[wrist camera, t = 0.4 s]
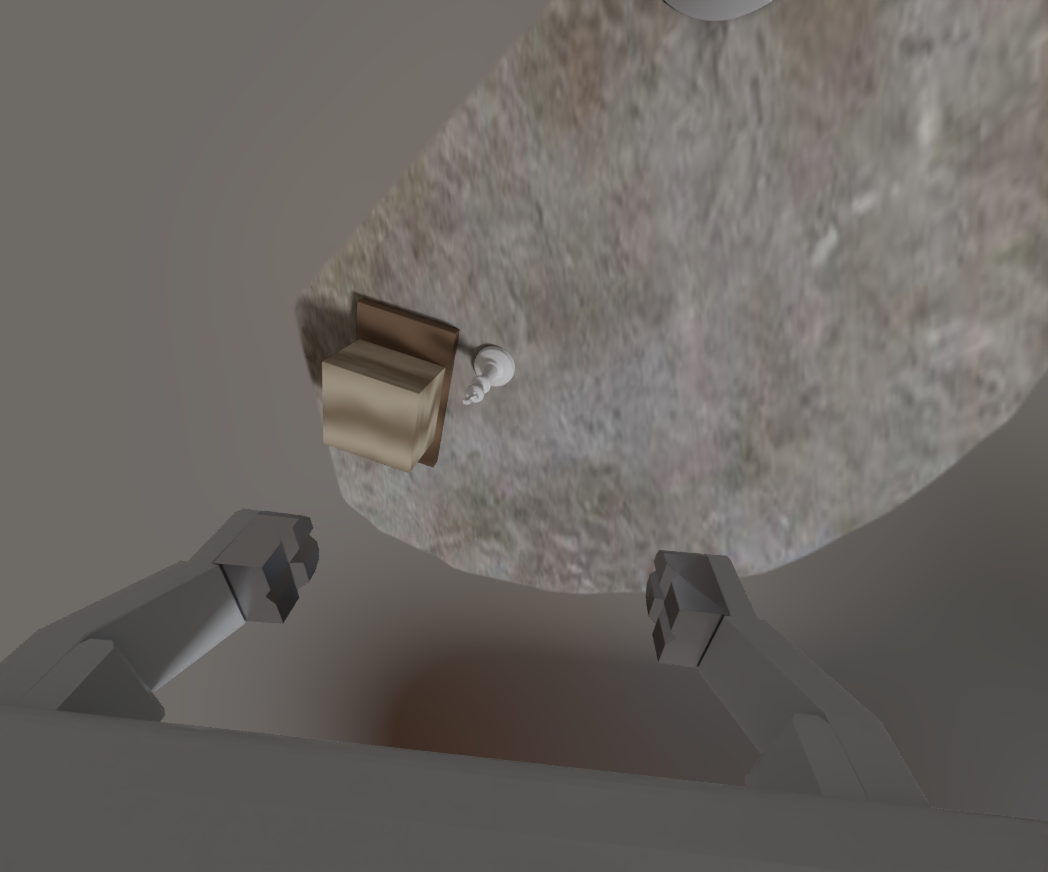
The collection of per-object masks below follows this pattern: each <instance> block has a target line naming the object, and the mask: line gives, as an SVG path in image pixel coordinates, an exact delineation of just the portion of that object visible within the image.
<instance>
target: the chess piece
mask: <svg viewBox="0 0 1048 872" xmlns="http://www.w3.org/2000/svg"><path fill="white" fill-rule="evenodd" d="M474 369H475V372H476V374H477V376H475V377H474V378H473V380H472V385H469V386H468V387H467V388H466V390H465V395H466V397H467V398H464V399H463V400H462V401H463V403H464V404H467V405H469V404H471V403H472V402H474V403H477V402H480V401H481V400H482V399H483V397H484V393H487V392H488V391H489V390H490V386H501V385H504V384H506V383H507V382H508V381H509V380H510V379H511V378H512V377H513V374H514V371H515V365H514V361H513V359H512V357H511V356H510V354H509V353H508V352H507V351H505V350H504V349H502V348H500V347H496V346H489V347H485V348H483V349H482V350H481V351H480V352H479V353H478V354H477V356H476V358H475V362H474Z"/></svg>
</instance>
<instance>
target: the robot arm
mask: <svg viewBox="0 0 1048 872" xmlns="http://www.w3.org/2000/svg"><path fill="white" fill-rule="evenodd" d="M664 1H666V2H667V3H668V4H669V5H670V6H671V7H673V8H674V9H675V10H677V11H679V12H681V13H682V14H685V15H687V16H689V17H692V18H696V19H700V20H707V21H720V20H728V19H733V18H737V17H740V16H743V15H746V14H749V13H751V12H753V11H755V10H757V9H759V8H761V7H763V6H765V5H766V4H768V3H770V2H771V1H773V0H664ZM312 529H313V525H312V522H311V520H310V518H309V517H307V516H302V515H293V514H286V513H278V512H270V511H257V510H250V509H242V510H239V511H237V512H235V513H234V514H233V515H232V516H231V518H229V519H228V520H227V521H226V523H225V524H224V525H223V526H222V527H221V528H220V529H219V530H218V531H217V532H216V533H215V534H214V535H213V536H212V537H211V538H210V539H209V540H208V541H207V542H206V543H205V544H204V545H203V546H202V547H201V548H200V549H199V551H198V552H196V554H195V555H193V557H192V558H191V559H190V560H189V561H188V562H187V561H180V562H178V563H175V564H174V565H171V566H169V567H167V568H165V569H163V570H161V571H159V572H157V573H155V574H153V575H151V576H149V577H147V578H145V579H142V580H140V581H138V582H136V583H134V584H132V585H130V586H128V587H126V588H124V589H122V590H120V591H118V592H116V593H114V594H112V595H110V596H108V597H105V598H103V599H101V600H100V601H97V602H95V603H93V604H91V605H89V606H87V607H85V608H83V609H81V610H78V611H77V612H74V613H72V614H70V615H68V616H66V617H64V618H62V619H60V620H58V621H56V622H54V623H52V624H50V625H47V626H45V627H43V628H42V629H39V630H37V631H36V632H35V633H34V634H33V635H32V636H31V637H29V638H28V639H27V640H26V641H25V642H24V643H23V644H21V645H20V646H19V647H18V648H17V649H16V650H15V651H13V652H12V653H11V654H10V655H9V656H8V657H6V659H4V660H3V661H2V662H1V663H0V872H1048V821H1046V820H1037V819H1029V818H1020V817H1011V816H1002V815H993V814H984V813H975V812H966V811H957V810H948V809H938V808H931V806H930V804H929V803H928V801H927V800H926V798H925V796H924V794H923V792H922V791H921V789H920V787H919V786H918V784H917V783H916V781H915V779H914V777H913V775H912V774H911V772H910V770H909V769H908V767H907V765H906V764H905V762H904V760H903V758H902V757H901V755H900V753H899V752H898V750H897V748H896V747H895V745H894V743H893V741H892V740H891V738H890V737H889V735H888V733H887V731H886V730H885V728H884V726H883V725H882V723H881V721H880V720H879V719H878V718H877V717H875V716H874V715H873V714H872V713H871V712H870V711H869V710H867V709H866V708H865V707H864V706H863V705H862V704H861V703H859V702H858V701H857V700H856V699H855V698H854V697H853V696H851V695H850V694H849V693H848V692H847V691H845V689H843V688H842V687H841V686H840V685H839V684H838V683H836V682H835V681H834V680H833V679H832V678H831V677H830V676H828V675H827V674H826V673H825V672H824V671H823V670H822V669H820V668H819V667H818V666H817V665H816V664H815V663H814V662H812V661H811V660H810V659H809V658H808V657H807V656H806V655H804V654H803V653H802V652H801V651H800V650H799V649H798V648H796V647H795V646H794V645H793V644H792V643H791V642H789V641H788V640H787V639H786V638H785V637H784V636H783V635H781V634H780V633H779V632H778V631H777V630H776V629H775V628H773V627H772V626H771V625H770V624H769V623H768V622H766V621H765V620H760V619H757V617H756V614H755V612H754V610H753V608H752V605H751V603H750V601H749V599H748V597H747V595H746V593H745V590H744V588H743V586H742V584H741V582H740V579H739V577H738V575H737V573H736V571H735V568H734V566H733V564H732V562H731V560H730V559H729V558H728V557H727V556H722V555H711V554H699V553H688V552H676V551H665V550H659V551H658V553H657V554H656V557H655V560H654V564H655V569H656V571H654V572H653V573H651V574H650V575H649V578H648V582H647V587H646V604H647V611H648V616H649V617H650V618H651V619H652V621H653V622H654V623H655V624H656V625H655V628H654V630H653V633H652V636H653V641H654V645H655V650H656V655H657V660H658V663H664V664H672V665H679V666H687V667H695V668H698V669H697V670H698V672H699V673H700V674H701V676H702V677H703V678H704V680H705V681H706V682H707V684H708V685H709V686H710V688H711V689H712V690H713V692H714V693H715V694H716V695H717V697H718V698H719V699H720V701H721V702H722V703H723V705H724V706H725V707H726V709H727V710H728V711H729V713H730V714H731V715H732V717H733V718H734V719H735V720H736V722H737V723H738V724H739V726H740V727H741V728H742V730H743V731H744V732H745V734H746V735H747V736H748V737H749V739H750V740H751V741H752V743H753V744H754V746H755V747H756V748H757V749H758V751H759V752H760V753H761V755H762V756H761V758H760V759H759V760H758V761H757V763H756V764H755V765H754V766H753V768H752V769H751V770H750V771H749V773H748V774H747V776H746V777H745V778H744V781H745V784H746V787H741V786H731V785H722V784H713V783H704V782H695V781H686V780H678V779H669V778H659V777H650V776H642V775H633V774H624V773H614V772H606V771H597V770H587V769H579V768H569V767H561V766H552V765H543V764H534V763H525V762H516V761H507V760H499V759H490V758H480V757H471V756H462V755H454V754H445V753H436V752H427V751H418V750H408V749H399V748H391V747H382V746H373V745H364V744H354V743H346V742H337V741H328V740H319V739H309V738H301V737H292V736H283V735H273V734H265V733H256V732H247V731H238V730H229V729H220V728H211V727H202V726H193V725H184V724H175V723H166V722H161V720H162V719H163V717H164V716H165V710H164V707H163V706H162V705H161V703H160V702H159V701H158V699H157V698H156V697H155V695H154V694H153V692H155V691H156V690H157V689H159V688H160V687H161V686H163V685H164V684H165V683H166V682H168V681H169V680H171V679H172V678H173V677H175V676H176V675H177V674H179V673H180V672H181V671H182V670H184V669H185V668H186V667H188V666H189V665H190V664H192V663H193V662H194V661H196V660H197V659H198V658H200V657H201V656H202V655H204V654H205V653H206V652H208V651H209V650H210V649H211V648H213V647H214V646H215V645H217V644H218V643H219V642H221V641H222V640H223V639H225V638H226V637H227V636H228V635H230V634H231V633H233V632H234V631H235V630H237V629H238V628H239V627H241V626H242V625H243V624H244V623H245V621H256V622H269V623H284V622H285V620H286V618H287V617H288V615H289V614H290V612H291V610H292V609H293V607H294V605H295V604H296V602H297V601H298V599H299V595H298V589H299V588H300V587H302V586H303V585H305V584H306V583H308V582H309V581H310V579H311V578H312V576H313V574H314V573H315V570H316V567H317V563H318V560H319V547H318V544H317V541H316V540H315V539H313V538H312V537H311V536H310V535H309V534H310V532H311V531H312Z"/></svg>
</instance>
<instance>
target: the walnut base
mask: <svg viewBox="0 0 1048 872" xmlns="http://www.w3.org/2000/svg"><path fill="white" fill-rule="evenodd" d="M458 336H459V329H456V328H453V327H450V326H447V325H444V324H441V323H438V322H435V321H432V320H428V319H425V318H422V317H419V316H416V315H413V314H410V313H407V312H404V311H401V310H398V309H395V308H392V307H389V306H386V305H383V304H380V303H377V302H374V301H370V300H367V299H362V300H359V301H357V324H356V342H354V343H352V344H351V345H349V346H347V347H346V348H344V349H342V350H340V351H339V352H337V353H335V354H334V355H332V356H330V357H329V358H327V359H325V360H323V361H322V387H323V436H324V444H326V445H329V446H332V447H335V448H338V449H341V450H344V451H347V452H350V453H352V454H355V455H358V456H361V457H364V458H367V459H370V460H373V461H376V462H378V463H381V464H384V465H387V466H390V467H393V468H396V469H399V470H402V471H404V472H407V473H410V471H411V470H412V469H413V467H414V466H415V465H416V463H417V462H419V463H422V464H425V465H427V466H430V467H434V465H435V464H436V462H437V460H438V454H439V448H440V442H441V436H442V430H443V424H444V418H445V413H446V407H447V401H448V395H449V389H450V383H451V377H452V371H453V365H454V360H455V354H456V348H457V342H458Z"/></svg>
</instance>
